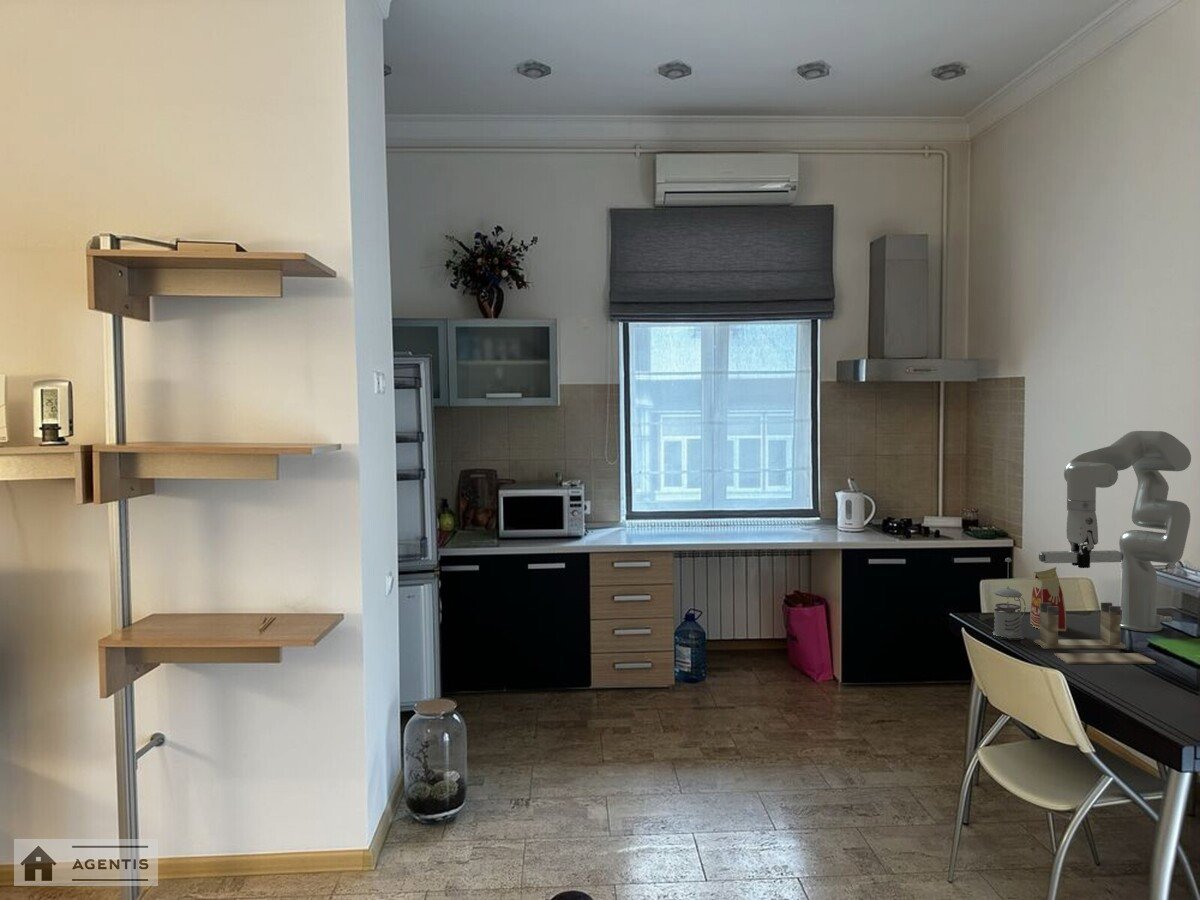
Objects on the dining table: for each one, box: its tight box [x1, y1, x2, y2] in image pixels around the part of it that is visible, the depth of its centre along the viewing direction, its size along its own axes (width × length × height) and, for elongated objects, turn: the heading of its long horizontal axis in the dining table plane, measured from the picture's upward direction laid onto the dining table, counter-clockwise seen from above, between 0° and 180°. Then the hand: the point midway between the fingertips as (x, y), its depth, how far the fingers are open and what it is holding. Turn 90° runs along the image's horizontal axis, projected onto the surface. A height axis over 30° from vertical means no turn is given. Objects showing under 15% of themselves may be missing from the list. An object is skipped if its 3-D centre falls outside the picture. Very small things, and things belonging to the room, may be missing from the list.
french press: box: [992, 557, 1026, 638], centre depth 269 cm, size 10×12×25 cm
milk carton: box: [1029, 566, 1067, 632], centre depth 278 cm, size 9×9×20 cm
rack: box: [1033, 602, 1127, 649], centre depth 257 cm, size 24×6×12 cm, turn 87°
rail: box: [1038, 549, 1124, 564], centre depth 256 cm, size 24×3×3 cm, turn 87°
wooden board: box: [1053, 652, 1157, 665], centre depth 244 cm, size 24×8×1 cm, turn 87°
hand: (1080, 565), depth 257 cm, fingers closed on rail, 3 cm apart
